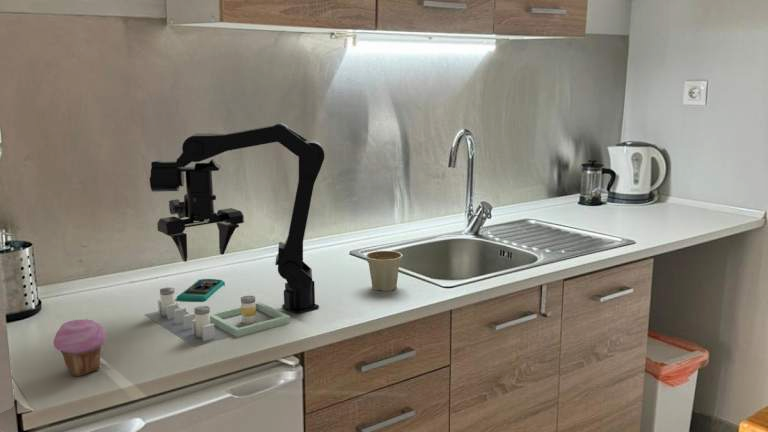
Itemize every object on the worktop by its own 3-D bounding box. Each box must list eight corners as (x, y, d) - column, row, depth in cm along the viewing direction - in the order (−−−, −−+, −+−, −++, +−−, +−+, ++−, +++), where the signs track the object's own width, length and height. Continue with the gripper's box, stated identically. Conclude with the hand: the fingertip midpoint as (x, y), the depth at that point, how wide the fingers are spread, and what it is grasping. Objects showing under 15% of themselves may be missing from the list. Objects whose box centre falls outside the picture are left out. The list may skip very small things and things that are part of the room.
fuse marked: (251, 320, 161) (250, 294, 160) (259, 324, 159) (257, 298, 157) (239, 323, 159) (237, 297, 158) (246, 327, 157) (245, 301, 155)
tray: (259, 312, 168) (259, 301, 167) (290, 327, 158) (290, 316, 158) (208, 325, 160) (207, 314, 159) (237, 342, 150) (236, 330, 150)
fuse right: (207, 332, 153) (205, 304, 151) (214, 336, 150) (212, 308, 149) (193, 335, 151) (191, 308, 149) (200, 339, 148) (198, 312, 147)
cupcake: (71, 385, 131) (65, 332, 128) (49, 372, 136) (43, 321, 134) (117, 369, 137) (112, 319, 135) (94, 357, 143) (89, 309, 141)
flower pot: (358, 288, 186) (357, 255, 184) (383, 280, 193) (382, 248, 191) (385, 295, 180) (384, 262, 178) (409, 287, 186) (410, 254, 185)
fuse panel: (178, 311, 169) (177, 294, 168) (230, 342, 150) (229, 322, 149) (144, 319, 164) (143, 301, 163) (194, 352, 145) (193, 332, 144)
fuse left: (172, 311, 165) (170, 286, 164) (178, 315, 163) (176, 289, 162) (159, 314, 163) (157, 289, 162) (165, 318, 161) (163, 292, 160)
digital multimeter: (226, 289, 187) (225, 278, 186) (205, 308, 173) (204, 296, 172) (199, 288, 188) (198, 277, 187) (176, 307, 174) (175, 295, 173)
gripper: (220, 181, 175) (223, 244, 178) (145, 190, 163) (150, 257, 166) (243, 187, 166) (246, 253, 170) (165, 197, 155) (170, 268, 158)
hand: (203, 257), depth 166 cm, fingers open, 9 cm apart
